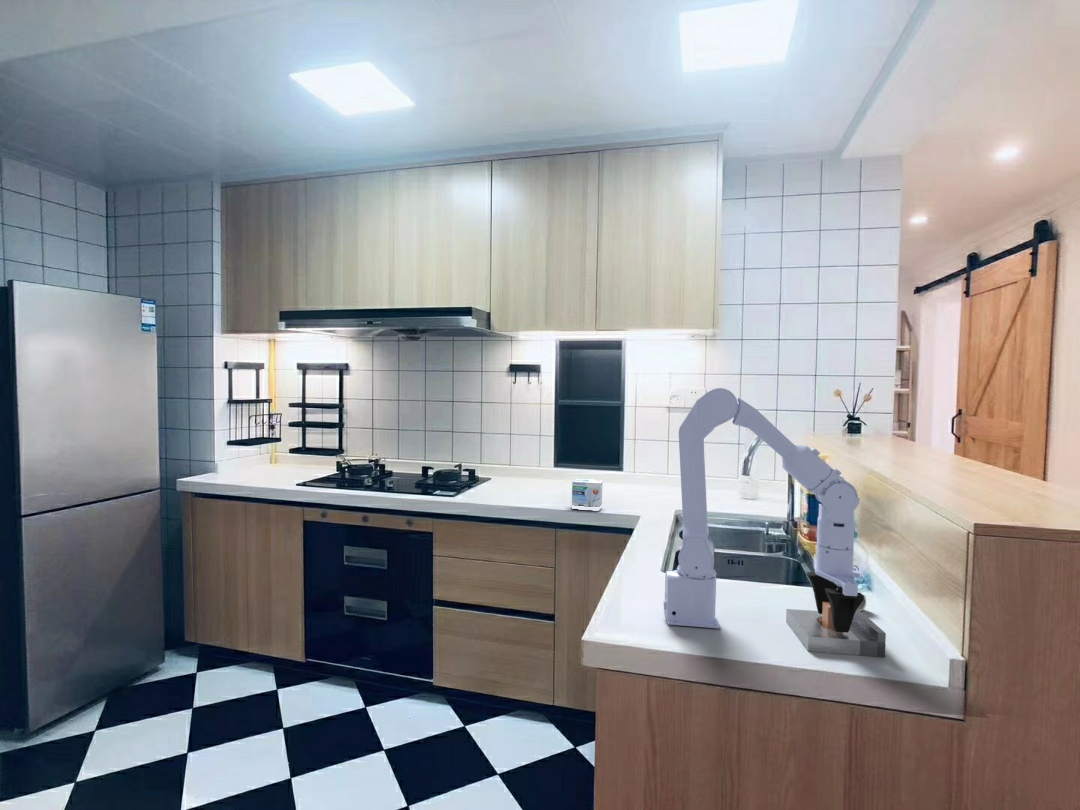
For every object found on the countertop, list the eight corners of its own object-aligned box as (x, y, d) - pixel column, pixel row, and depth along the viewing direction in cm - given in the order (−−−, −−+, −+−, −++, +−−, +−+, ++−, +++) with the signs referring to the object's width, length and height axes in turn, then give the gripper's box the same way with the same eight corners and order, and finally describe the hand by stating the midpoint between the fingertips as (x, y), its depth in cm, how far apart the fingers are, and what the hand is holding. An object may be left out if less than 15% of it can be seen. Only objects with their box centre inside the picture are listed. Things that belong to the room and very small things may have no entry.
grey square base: (807, 651, 92) (808, 627, 92) (786, 621, 104) (786, 600, 104) (885, 657, 90) (885, 633, 90) (853, 627, 102) (854, 605, 102)
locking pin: (827, 641, 96) (828, 607, 96) (821, 634, 98) (822, 601, 98) (843, 642, 95) (844, 608, 95) (837, 636, 98) (838, 602, 98)
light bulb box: (571, 510, 201) (571, 480, 201) (574, 506, 207) (574, 478, 207) (600, 512, 198) (600, 482, 198) (602, 508, 205) (602, 479, 205)
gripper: (878, 559, 89) (876, 642, 89) (842, 536, 103) (840, 608, 104) (832, 556, 90) (829, 638, 90) (802, 534, 104) (800, 605, 104)
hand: (832, 622), depth 97 cm, fingers open, 7 cm apart
